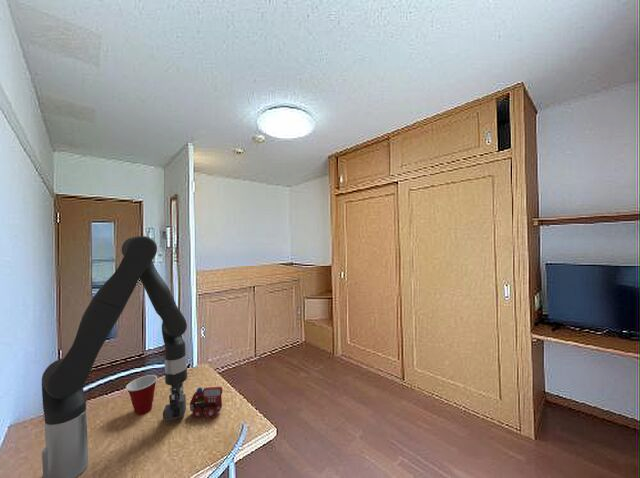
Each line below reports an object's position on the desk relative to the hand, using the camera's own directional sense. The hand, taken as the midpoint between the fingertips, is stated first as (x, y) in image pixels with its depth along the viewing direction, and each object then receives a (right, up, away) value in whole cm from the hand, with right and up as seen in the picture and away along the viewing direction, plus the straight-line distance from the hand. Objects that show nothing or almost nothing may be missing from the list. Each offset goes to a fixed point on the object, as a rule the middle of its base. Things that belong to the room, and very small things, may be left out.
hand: (177, 412), depth 108 cm
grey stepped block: (-1, -1, 0) cm, 1 cm away
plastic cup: (-17, -3, +5) cm, 18 cm away
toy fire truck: (+10, -2, +3) cm, 11 cm away
